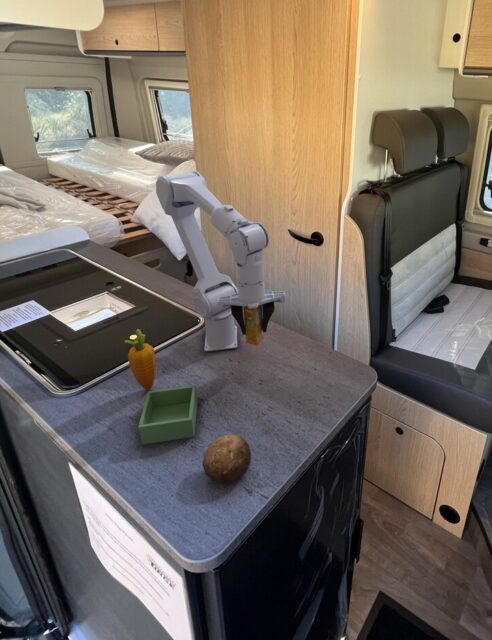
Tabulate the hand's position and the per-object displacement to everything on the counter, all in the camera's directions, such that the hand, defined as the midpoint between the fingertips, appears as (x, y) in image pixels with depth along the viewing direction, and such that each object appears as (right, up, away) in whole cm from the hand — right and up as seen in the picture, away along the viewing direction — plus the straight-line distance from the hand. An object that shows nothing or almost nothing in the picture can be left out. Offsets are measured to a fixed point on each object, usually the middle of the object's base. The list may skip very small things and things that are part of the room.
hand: (254, 331), depth 89 cm
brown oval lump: (0, -21, -21) cm, 29 cm away
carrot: (-22, -12, -5) cm, 26 cm away
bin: (-14, -16, -12) cm, 24 cm away
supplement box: (0, -3, +1) cm, 3 cm away
